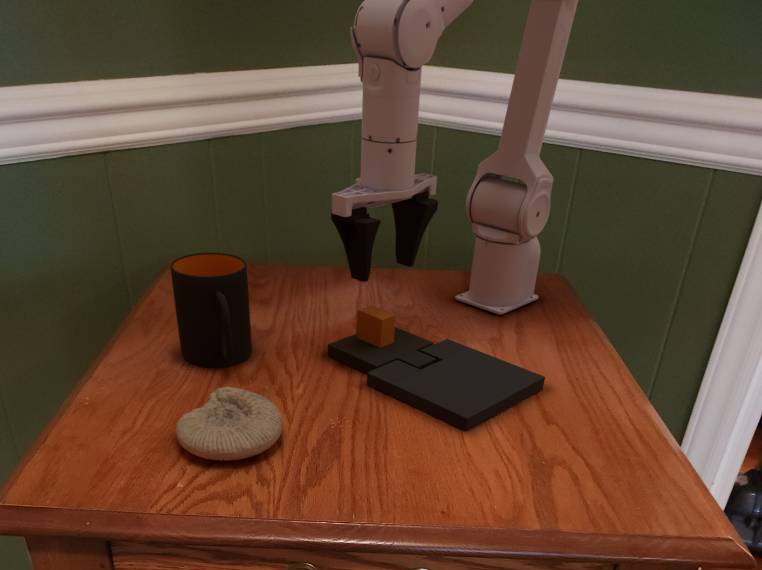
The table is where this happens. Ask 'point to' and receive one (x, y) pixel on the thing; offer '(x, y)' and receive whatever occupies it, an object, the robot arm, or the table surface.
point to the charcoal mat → (457, 384)
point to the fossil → (230, 425)
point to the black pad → (382, 355)
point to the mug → (212, 309)
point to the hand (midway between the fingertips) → (382, 271)
